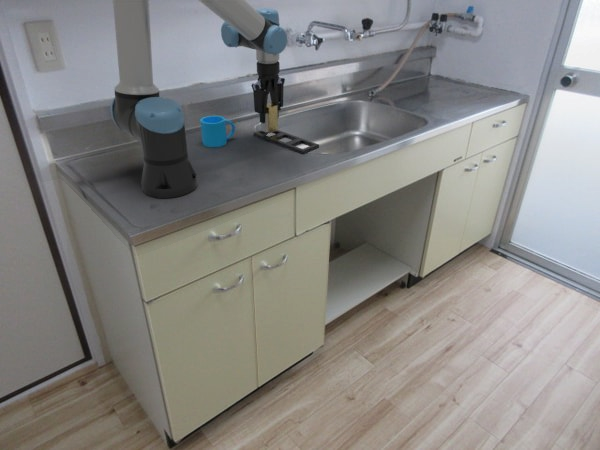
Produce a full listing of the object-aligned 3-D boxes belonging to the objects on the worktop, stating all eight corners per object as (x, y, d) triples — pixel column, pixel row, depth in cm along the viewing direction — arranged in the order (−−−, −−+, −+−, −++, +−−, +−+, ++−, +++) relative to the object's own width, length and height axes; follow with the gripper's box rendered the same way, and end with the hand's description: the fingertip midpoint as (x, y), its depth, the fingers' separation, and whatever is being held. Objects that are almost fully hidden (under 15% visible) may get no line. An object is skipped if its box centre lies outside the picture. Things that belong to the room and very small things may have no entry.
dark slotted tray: (303, 154, 149) (303, 151, 148) (253, 135, 163) (253, 132, 162) (319, 147, 154) (319, 144, 153) (269, 130, 168) (269, 127, 167)
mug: (208, 149, 152) (206, 125, 148) (198, 141, 158) (196, 118, 153) (240, 142, 158) (239, 119, 153) (230, 135, 163) (228, 112, 159)
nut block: (269, 133, 160) (269, 107, 155) (261, 130, 162) (260, 105, 157) (277, 130, 162) (277, 105, 157) (269, 127, 164) (269, 102, 160)
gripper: (256, 67, 142) (259, 138, 154) (294, 59, 153) (293, 126, 165) (240, 63, 146) (244, 133, 159) (278, 55, 157) (279, 121, 169)
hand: (269, 129), depth 162 cm, fingers closed on nut block, 4 cm apart
